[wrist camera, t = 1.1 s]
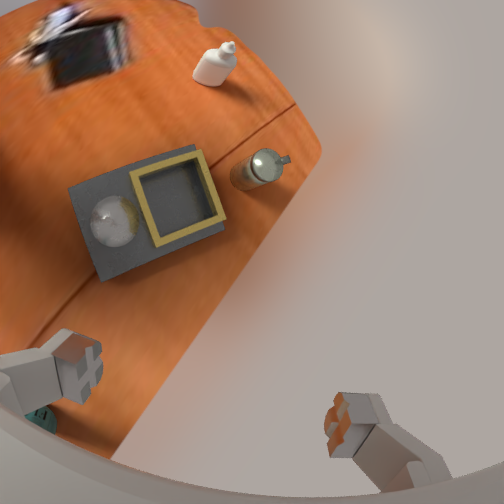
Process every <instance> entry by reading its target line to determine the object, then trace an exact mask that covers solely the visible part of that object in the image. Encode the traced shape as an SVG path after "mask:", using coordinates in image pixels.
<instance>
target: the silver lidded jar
mask: <svg viewBox="0 0 504 504" xmlns="http://www.w3.org/2000/svg"><path fill="white" fill-rule="evenodd" d="M290 162H291V160H290V157H289V155H287V156H284V157H280V156H279V155H278V153H276V152H275V151H273V150H271V149H267V148H265V149H261V150H259V151H257V152H256V153H254V154H253V155H251V156H249V157H248V158H246V159H244V160H243V161H241V162H240V163H238V164H236V165H235V166H234V167H233V168H232V169H231V172H230V180H231V182H232V184H233V186H234V187H235V188H237V189H238V190H241V191H248V190H250V189H253V188H256V187H258V186H261V185H263V184H266V183H269V182H272V181H275V180H277V179H278V178H279V177H280V176H281V175H282V172H283V165H284V164H287V163H290Z"/></svg>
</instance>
